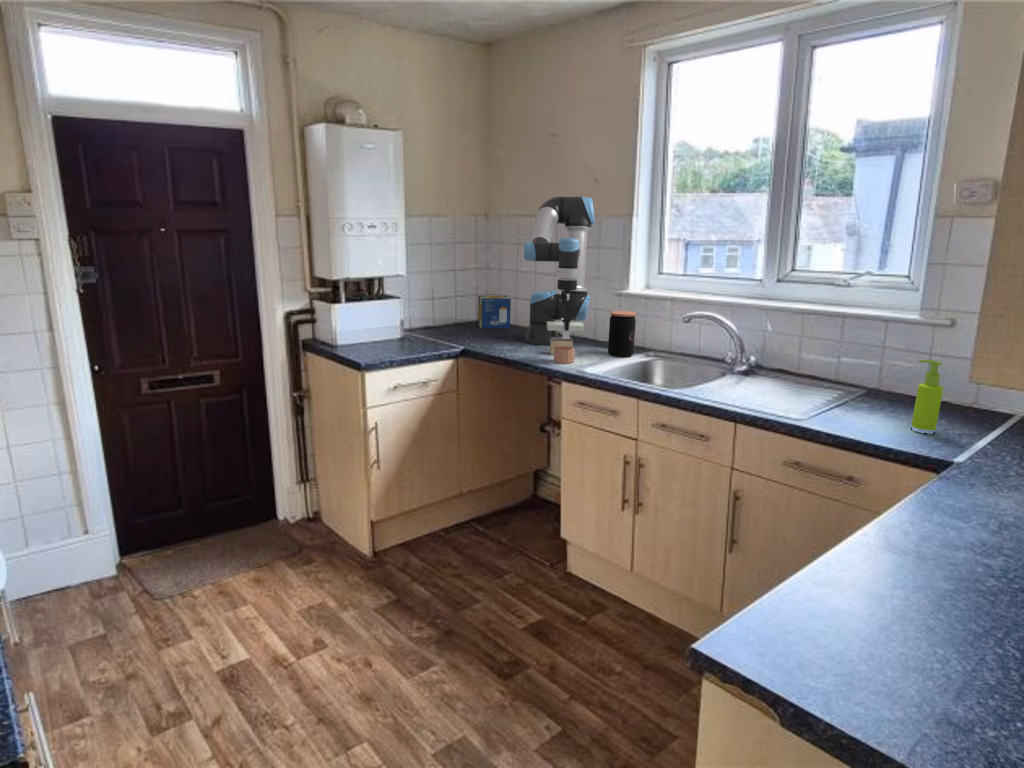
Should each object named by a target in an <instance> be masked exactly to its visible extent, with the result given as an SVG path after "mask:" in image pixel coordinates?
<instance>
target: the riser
mask: <svg viewBox="0 0 1024 768" xmlns="http://www.w3.org/2000/svg"><path fill="white" fill-rule="evenodd" d="M558 346H568V347H573V346H574V340H573V337H570V339H562V336H558V337H550V345H549V353H550V356H554V347H558ZM573 348H574V347H573Z"/></svg>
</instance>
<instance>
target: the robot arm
mask: <svg viewBox="0 0 1024 768" xmlns="http://www.w3.org/2000/svg"><path fill="white" fill-rule="evenodd" d="M535 215H536V216H535V218H536V223H535V228H534V232H533V235H532V238H531V241H526V242H524V245H523V258H524V260H526V261H529V262H530V261H531V262H549V263H550V262H551V263H552V262H554V263H558V266H557V267H558V270H556V273H557V278H558V279H557V284H556V286H557V287H556V288H557V290H559V291H561V293H558V292H557V290H553V289H551V290H550V289H549V290H539V291H534V292H533V293H532V294H531V295H530V301H529V306H530V307H529V324H528V325H529V326H528V329H527V332H526V334H525V336H524V338H525V339H524V342H525V343H527V344H532V345H538V346H539V345H540V346H541V345H544V346H546V345H547V346H548V345H549V346H550V337H559V335H558V331H553V330H548V329H547V321H549V322H556V321H560V322H563V331H560V333H559V334H560V335H562V336H561V337H562V339H570V336H571V334H570V333H571V331H570V322H583V321H585V320H586V319H587V317H588V312H589V309H590V307H589V306H590V302H591V295H590V294H588V290H587V289H586V287H585V281H586V279H585V278H586V264H587V263H586V261H587V246H588V245H587V243H588V242H587V241H588V232H589V231H591V229H592V226H593V225H595V210H594V202H593V199H592V198H591V197H588V196H555V197H552V198H550V199H548V200H546V201H544V202H543V203H542V204H541V205H540V206H539V208H538V209H537V212H536V214H535ZM557 224H561V225H562V224H563V225H564V229H565V230H566V231H567V237H565V238H564V237H563V238H560V239H559V242H554V241H553V242H552V238H553V237H552V236H553V232H554V228H555V226H556V225H557Z"/></svg>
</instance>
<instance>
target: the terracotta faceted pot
mask: <svg viewBox="0 0 1024 768" xmlns="http://www.w3.org/2000/svg"><path fill="white" fill-rule="evenodd" d="M575 352H576V349H575V347H568V346H558V347H554V355H553V363H555V362H556V363H555V364H559V363H561V364H560V365H570V364H571V363H572V364H574V362H575Z"/></svg>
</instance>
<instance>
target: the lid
mask: <svg viewBox="0 0 1024 768" xmlns="http://www.w3.org/2000/svg"><path fill="white" fill-rule="evenodd" d="M585 327H586V326H585V325H584V323H583V321H570V332H585ZM547 329H548V330H553V331H557V332H558V331H560V332H561V331H563V322H561V321H555V322H549V321H547Z"/></svg>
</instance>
